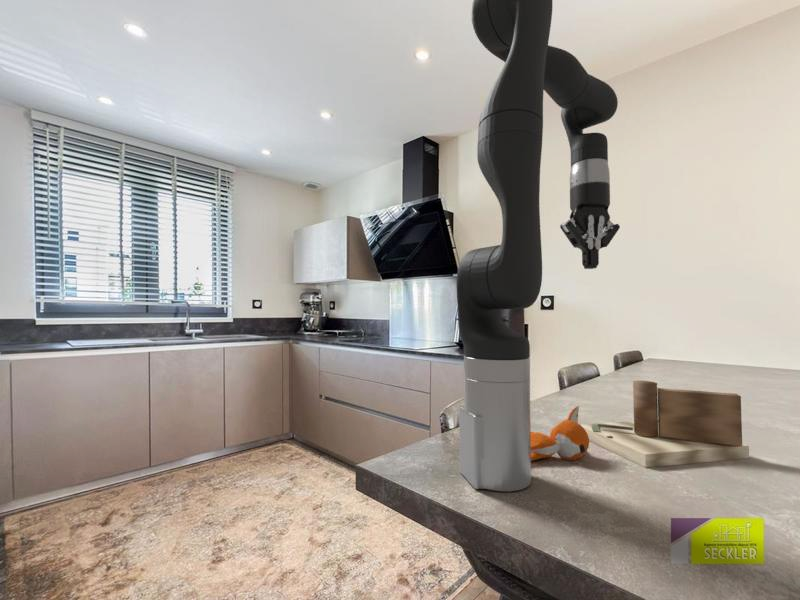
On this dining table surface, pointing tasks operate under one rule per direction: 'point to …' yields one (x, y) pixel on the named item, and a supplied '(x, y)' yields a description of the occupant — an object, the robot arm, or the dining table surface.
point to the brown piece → (686, 414)
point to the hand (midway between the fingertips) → (590, 268)
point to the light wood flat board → (660, 447)
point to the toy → (561, 440)
